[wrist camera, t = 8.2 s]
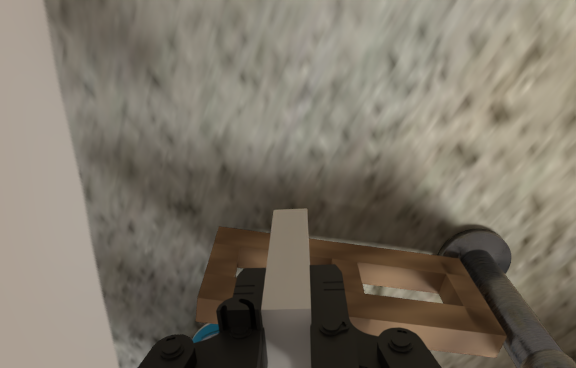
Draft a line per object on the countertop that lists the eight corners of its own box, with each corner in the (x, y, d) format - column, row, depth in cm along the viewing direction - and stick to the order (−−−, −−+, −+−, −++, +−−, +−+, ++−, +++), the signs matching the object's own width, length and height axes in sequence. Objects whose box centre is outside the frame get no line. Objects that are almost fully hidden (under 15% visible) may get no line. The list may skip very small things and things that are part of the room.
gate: (458, 258, 28) (507, 336, 22) (451, 277, 29) (496, 357, 23) (218, 226, 28) (197, 297, 21) (217, 246, 28) (195, 321, 22)
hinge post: (501, 284, 31) (607, 435, 21) (434, 287, 31) (505, 438, 21) (512, 227, 29) (637, 362, 19) (440, 230, 29) (523, 366, 19)
